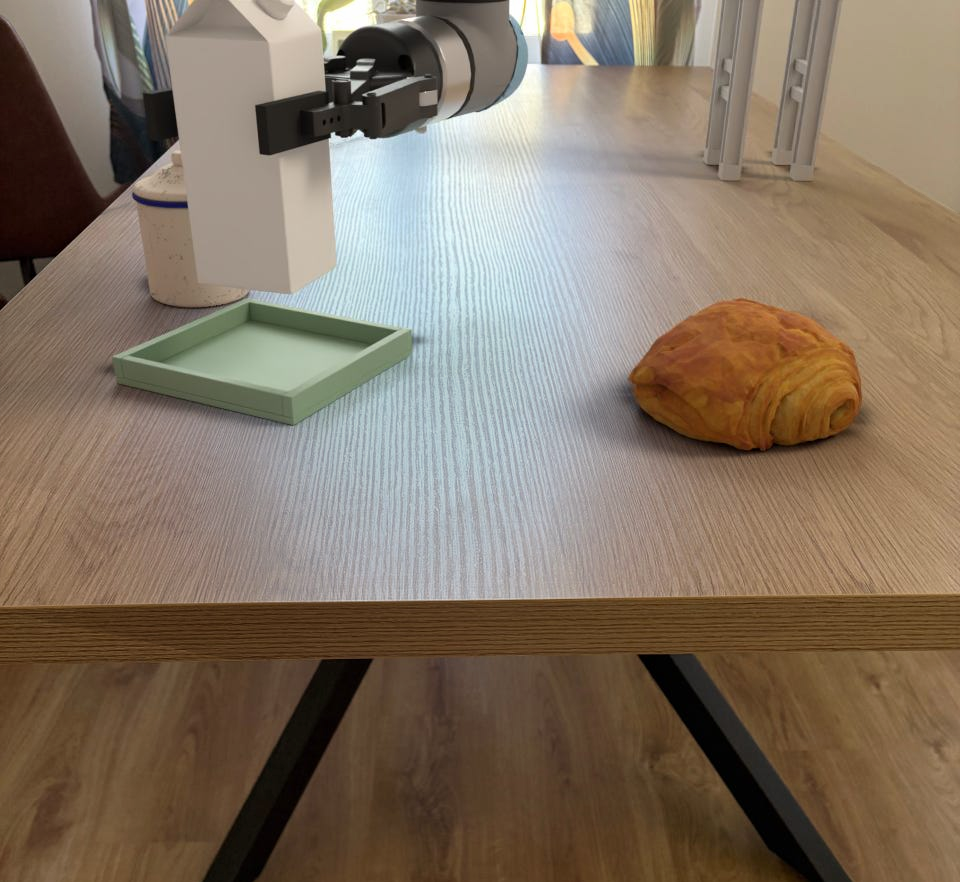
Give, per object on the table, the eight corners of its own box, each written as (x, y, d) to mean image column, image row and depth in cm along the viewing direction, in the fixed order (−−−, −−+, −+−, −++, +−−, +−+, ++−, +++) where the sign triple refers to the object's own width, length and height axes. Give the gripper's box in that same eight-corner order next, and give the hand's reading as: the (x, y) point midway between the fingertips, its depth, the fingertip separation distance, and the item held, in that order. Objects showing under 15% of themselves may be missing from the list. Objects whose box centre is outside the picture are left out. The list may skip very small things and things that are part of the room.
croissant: (743, 388, 87) (751, 281, 83) (897, 434, 75) (913, 311, 71) (586, 416, 81) (588, 302, 78) (725, 471, 69) (734, 339, 65)
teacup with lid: (253, 307, 95) (238, 161, 89) (143, 312, 94) (120, 164, 88) (253, 267, 105) (240, 133, 99) (154, 271, 104) (134, 135, 97)
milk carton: (197, 286, 76) (153, -42, 65) (248, 259, 81) (216, -48, 71) (292, 297, 74) (262, -39, 63) (338, 268, 79) (318, -45, 69)
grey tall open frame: (708, 184, 136) (750, -170, 117) (684, 157, 149) (719, -166, 129) (833, 184, 137) (896, -168, 117) (799, 158, 150) (851, -164, 130)
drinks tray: (116, 383, 81) (111, 356, 80) (249, 321, 92) (246, 297, 91) (293, 425, 75) (291, 397, 74) (412, 354, 86) (411, 329, 85)
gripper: (521, 144, 83) (351, 209, 66) (292, 118, 91) (89, 170, 74) (525, 30, 79) (343, 68, 62) (284, 13, 87) (66, 42, 70)
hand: (205, 123), depth 68 cm, fingers closed on milk carton, 8 cm apart
